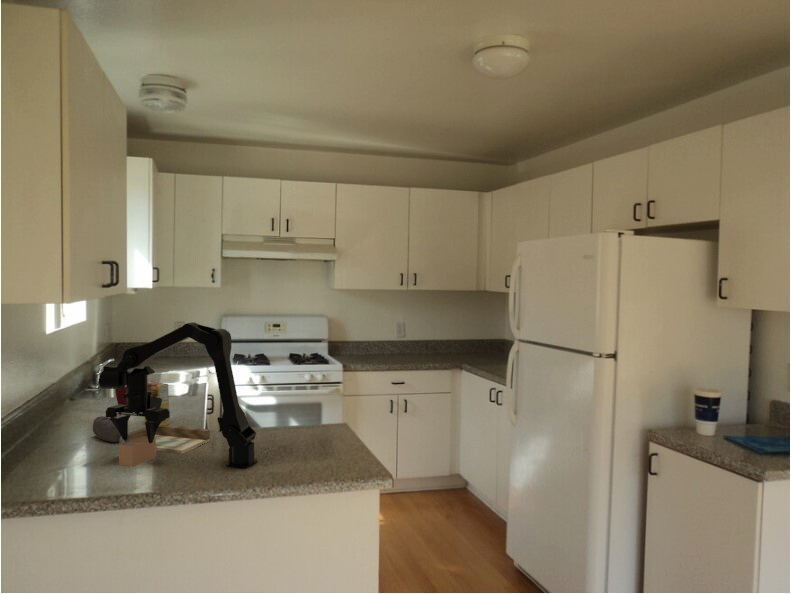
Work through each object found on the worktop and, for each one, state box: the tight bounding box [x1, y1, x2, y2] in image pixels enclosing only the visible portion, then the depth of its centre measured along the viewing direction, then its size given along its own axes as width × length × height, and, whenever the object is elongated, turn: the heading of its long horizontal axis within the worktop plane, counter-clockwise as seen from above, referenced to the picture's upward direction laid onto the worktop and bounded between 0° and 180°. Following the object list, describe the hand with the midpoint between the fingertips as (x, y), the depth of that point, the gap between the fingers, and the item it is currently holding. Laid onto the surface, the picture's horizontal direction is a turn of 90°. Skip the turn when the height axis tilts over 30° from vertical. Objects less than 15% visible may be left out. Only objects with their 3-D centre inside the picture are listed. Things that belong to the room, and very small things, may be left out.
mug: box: [114, 385, 127, 405], centre depth 243 cm, size 11×8×10 cm
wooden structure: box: [123, 425, 211, 454], centre depth 194 cm, size 22×14×4 cm, turn 72°
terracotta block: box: [118, 436, 157, 467], centre depth 177 cm, size 4×10×6 cm, turn 162°
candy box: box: [144, 381, 170, 426], centre depth 219 cm, size 9×4×15 cm, turn 60°
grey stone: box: [92, 416, 122, 443], centre depth 198 cm, size 15×5×7 cm, turn 48°
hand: (138, 441), depth 176 cm, fingers open, 9 cm apart
